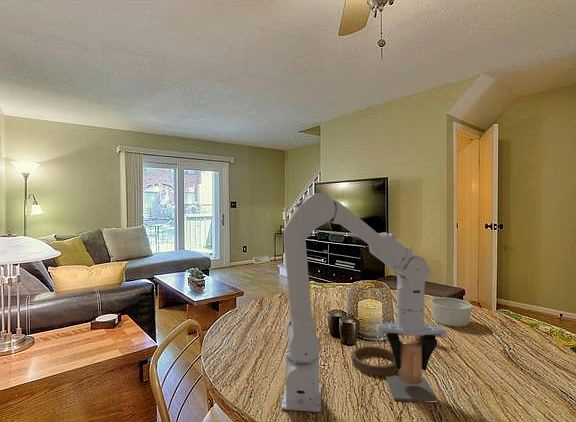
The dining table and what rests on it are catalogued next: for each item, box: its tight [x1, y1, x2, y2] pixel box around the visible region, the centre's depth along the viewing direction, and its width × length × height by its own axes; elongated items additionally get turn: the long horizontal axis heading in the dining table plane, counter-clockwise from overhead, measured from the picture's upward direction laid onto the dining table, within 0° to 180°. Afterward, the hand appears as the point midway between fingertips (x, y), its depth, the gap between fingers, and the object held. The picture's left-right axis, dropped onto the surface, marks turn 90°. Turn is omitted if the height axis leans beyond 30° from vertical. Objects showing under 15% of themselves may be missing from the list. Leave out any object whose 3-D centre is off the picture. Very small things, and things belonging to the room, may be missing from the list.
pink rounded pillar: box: [397, 337, 423, 384], centre depth 69 cm, size 7×5×8 cm
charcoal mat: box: [385, 374, 439, 403], centre depth 70 cm, size 9×9×1 cm
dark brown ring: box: [351, 345, 398, 377], centre depth 82 cm, size 12×12×2 cm
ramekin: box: [430, 296, 473, 328], centre depth 112 cm, size 13×13×7 cm
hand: (410, 367), depth 70 cm, fingers closed on pink rounded pillar, 5 cm apart
